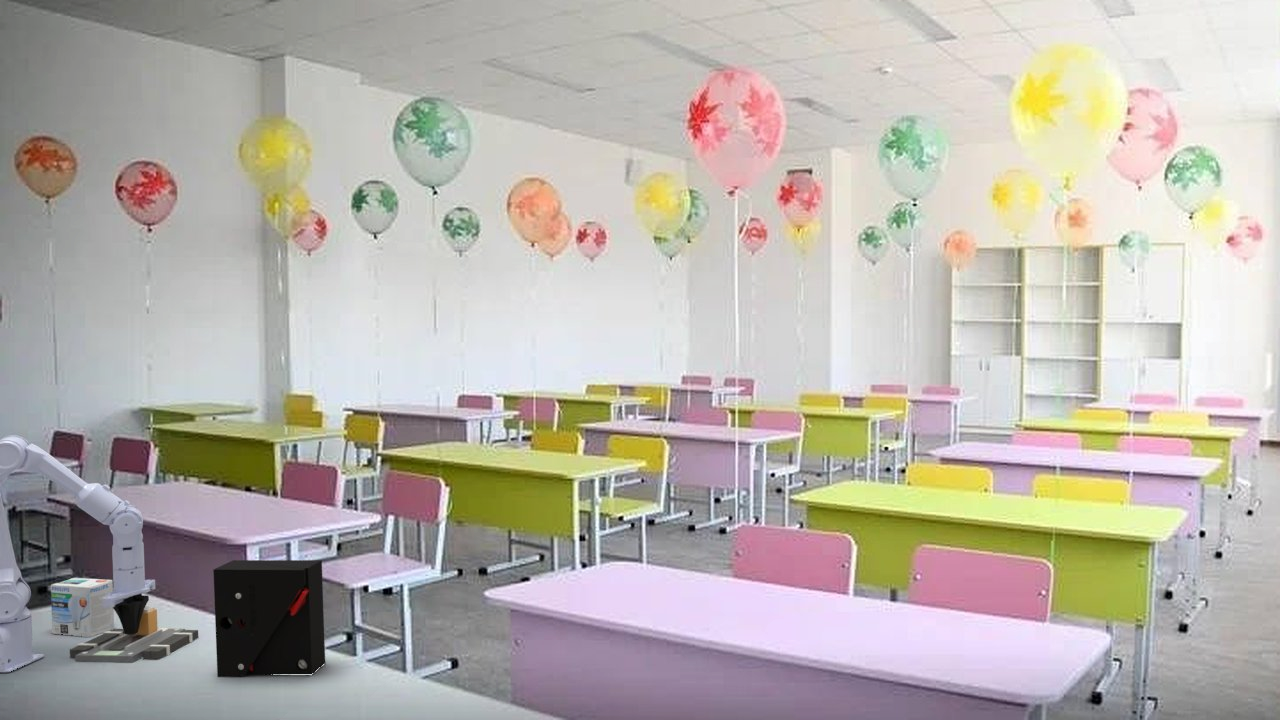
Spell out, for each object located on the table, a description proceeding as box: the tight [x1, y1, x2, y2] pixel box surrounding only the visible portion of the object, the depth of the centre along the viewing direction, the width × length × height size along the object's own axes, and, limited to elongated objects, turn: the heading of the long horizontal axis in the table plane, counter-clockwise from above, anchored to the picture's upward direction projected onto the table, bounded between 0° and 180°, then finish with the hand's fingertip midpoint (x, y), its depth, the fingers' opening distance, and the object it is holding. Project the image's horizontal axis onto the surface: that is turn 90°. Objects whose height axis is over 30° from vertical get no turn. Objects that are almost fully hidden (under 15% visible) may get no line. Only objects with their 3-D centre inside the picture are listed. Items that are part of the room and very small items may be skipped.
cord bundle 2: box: [142, 629, 199, 661], centre depth 208 cm, size 14×4×2 cm, turn 173°
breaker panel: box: [74, 627, 186, 664], centre depth 209 cm, size 18×12×2 cm, turn 173°
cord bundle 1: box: [69, 628, 124, 659], centre depth 210 cm, size 14×4×2 cm, turn 173°
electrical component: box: [212, 559, 326, 678], centre depth 193 cm, size 18×10×20 cm, turn 84°
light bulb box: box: [50, 577, 115, 638], centre depth 221 cm, size 11×7×11 cm, turn 73°
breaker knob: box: [134, 606, 159, 635], centre depth 213 cm, size 3×4×5 cm
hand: (131, 633), depth 209 cm, fingers closed
